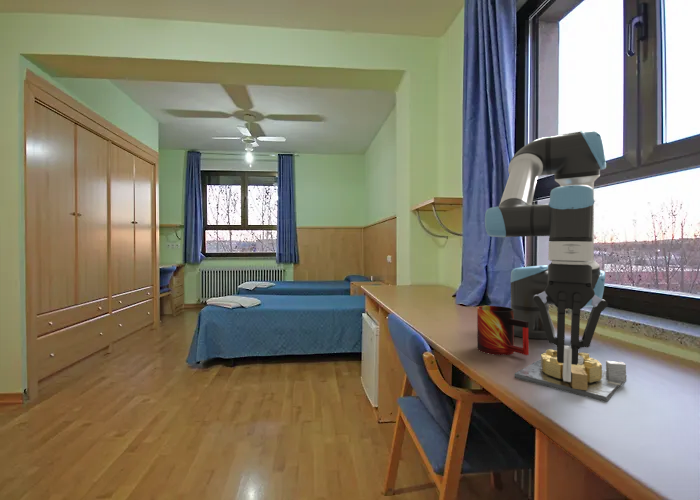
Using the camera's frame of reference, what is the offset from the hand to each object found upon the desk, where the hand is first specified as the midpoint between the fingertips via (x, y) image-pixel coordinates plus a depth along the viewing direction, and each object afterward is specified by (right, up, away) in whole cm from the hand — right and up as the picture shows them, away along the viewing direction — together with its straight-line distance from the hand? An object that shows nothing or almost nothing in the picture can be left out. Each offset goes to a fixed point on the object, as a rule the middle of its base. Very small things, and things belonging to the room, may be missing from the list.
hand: (566, 379), depth 71 cm
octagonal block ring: (+4, -1, +5) cm, 7 cm away
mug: (0, -3, +28) cm, 28 cm away
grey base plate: (+5, -3, +7) cm, 9 cm away
